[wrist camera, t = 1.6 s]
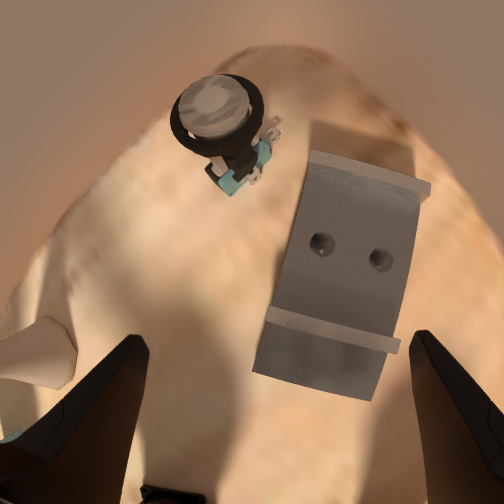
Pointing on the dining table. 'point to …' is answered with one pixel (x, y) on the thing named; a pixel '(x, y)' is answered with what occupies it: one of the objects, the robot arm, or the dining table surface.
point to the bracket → (342, 277)
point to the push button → (224, 128)
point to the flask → (39, 355)
